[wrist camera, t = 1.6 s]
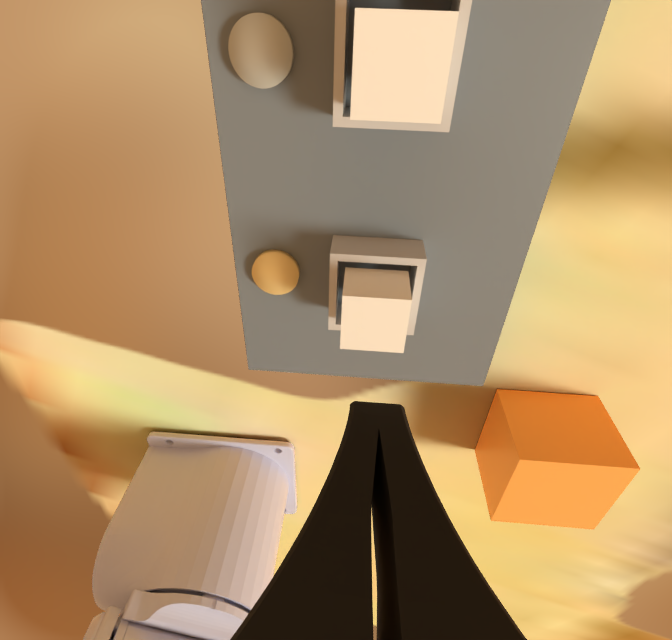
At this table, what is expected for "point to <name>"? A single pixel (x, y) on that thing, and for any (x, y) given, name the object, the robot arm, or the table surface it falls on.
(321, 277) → the breaker panel
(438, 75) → the button
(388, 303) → the button
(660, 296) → the table surface
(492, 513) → the orange block
